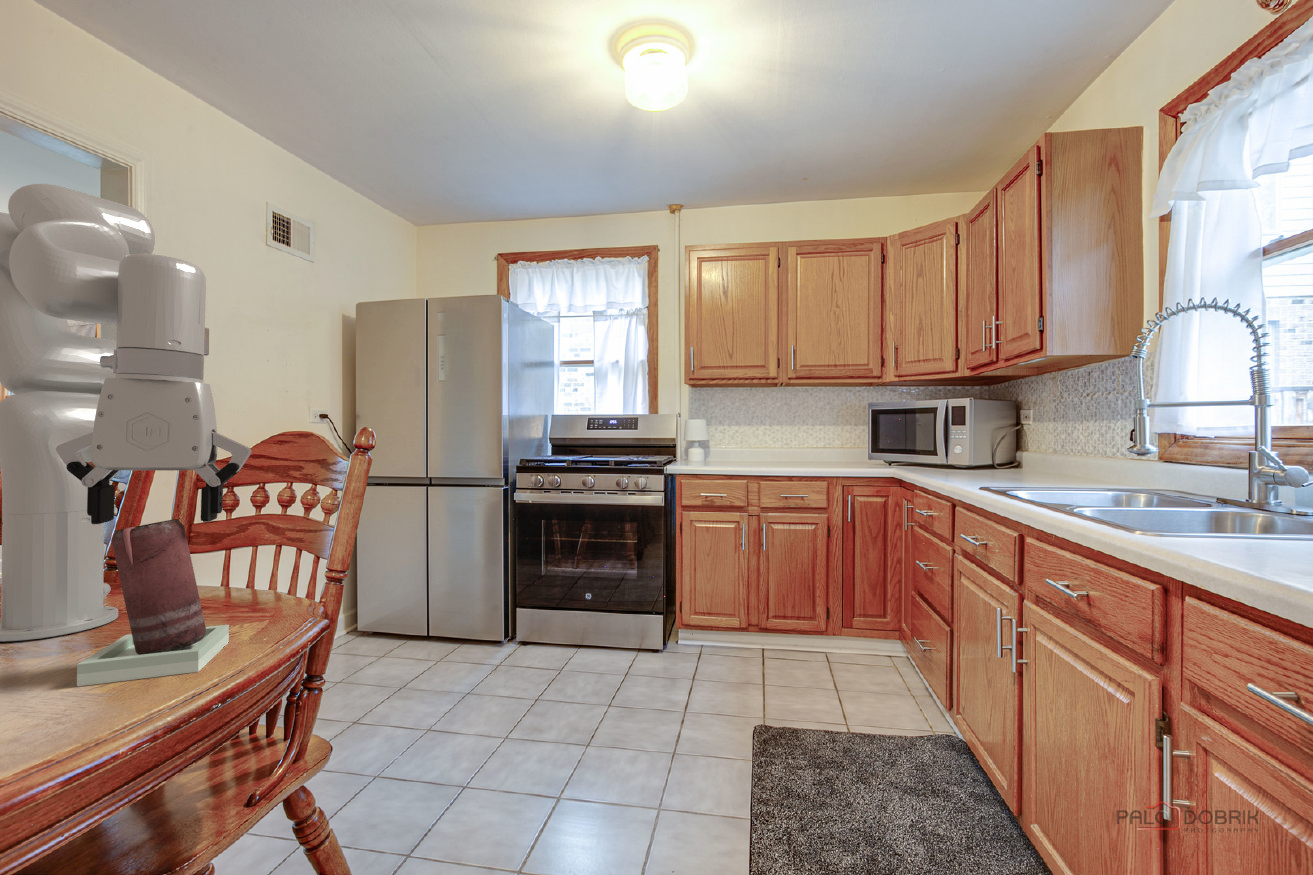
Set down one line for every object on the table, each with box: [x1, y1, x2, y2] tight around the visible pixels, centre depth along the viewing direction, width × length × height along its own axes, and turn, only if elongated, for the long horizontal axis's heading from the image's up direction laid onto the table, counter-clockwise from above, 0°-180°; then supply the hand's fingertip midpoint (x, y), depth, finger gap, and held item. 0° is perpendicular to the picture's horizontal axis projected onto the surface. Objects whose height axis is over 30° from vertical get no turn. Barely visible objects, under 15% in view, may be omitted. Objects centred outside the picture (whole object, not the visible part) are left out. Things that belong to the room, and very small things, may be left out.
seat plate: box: [76, 624, 230, 687], centre depth 65 cm, size 10×10×2 cm
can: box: [111, 518, 207, 655], centre depth 64 cm, size 6×6×14 cm
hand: (157, 521), depth 65 cm, fingers open, 9 cm apart
